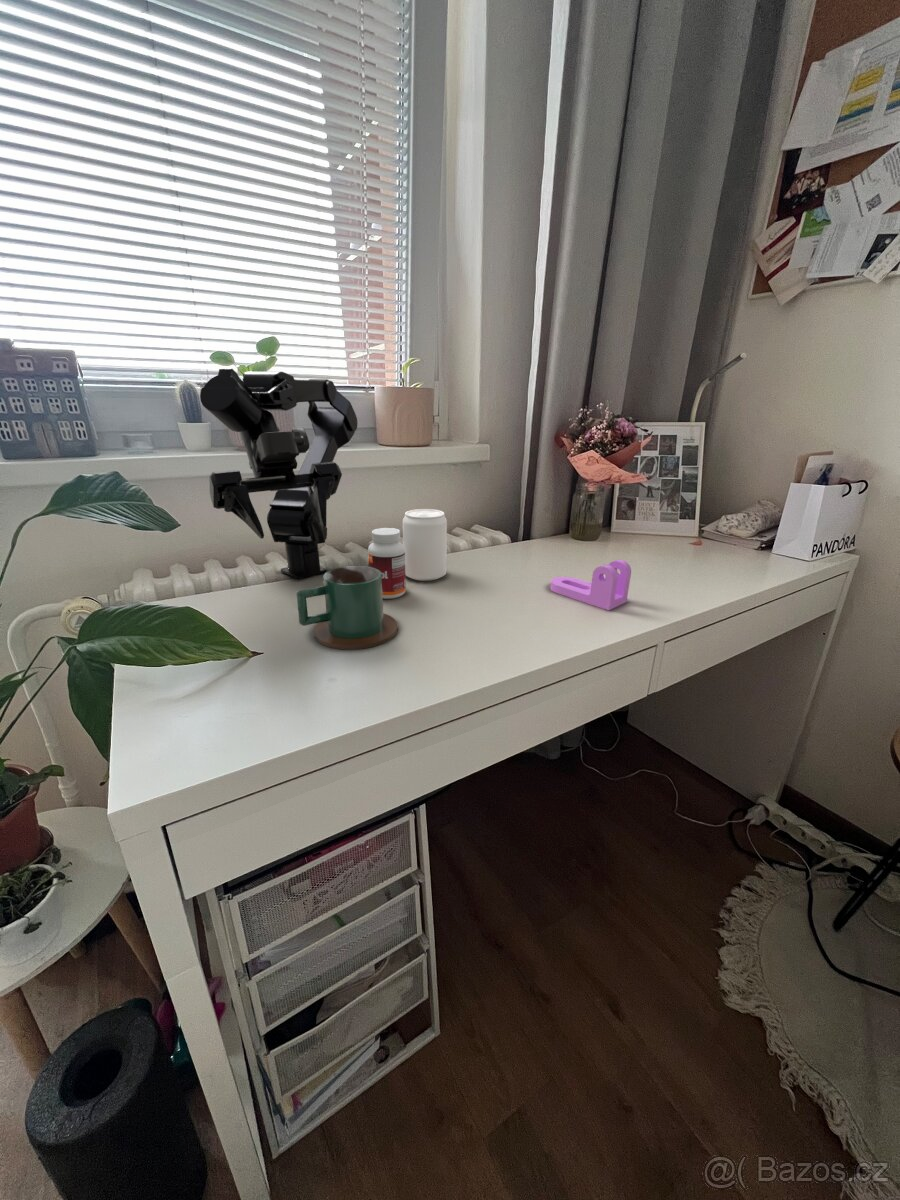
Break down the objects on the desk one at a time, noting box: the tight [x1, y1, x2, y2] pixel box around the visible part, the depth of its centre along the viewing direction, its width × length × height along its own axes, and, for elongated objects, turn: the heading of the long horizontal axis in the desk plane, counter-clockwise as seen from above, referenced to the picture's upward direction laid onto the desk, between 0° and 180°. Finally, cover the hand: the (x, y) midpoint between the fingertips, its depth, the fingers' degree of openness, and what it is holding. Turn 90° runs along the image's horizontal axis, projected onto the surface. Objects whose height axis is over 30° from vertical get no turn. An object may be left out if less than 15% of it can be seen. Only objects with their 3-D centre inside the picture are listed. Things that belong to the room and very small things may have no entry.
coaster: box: [313, 612, 399, 651], centre depth 73 cm, size 12×12×1 cm
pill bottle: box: [367, 527, 407, 600], centre depth 85 cm, size 6×6×11 cm
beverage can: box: [402, 508, 448, 582], centre depth 94 cm, size 8×8×12 cm
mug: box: [295, 565, 384, 639], centre depth 71 cm, size 12×8×8 cm
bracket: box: [550, 559, 632, 611], centre depth 86 cm, size 13×6×7 cm, turn 42°
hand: (294, 532), depth 74 cm, fingers open, 9 cm apart
